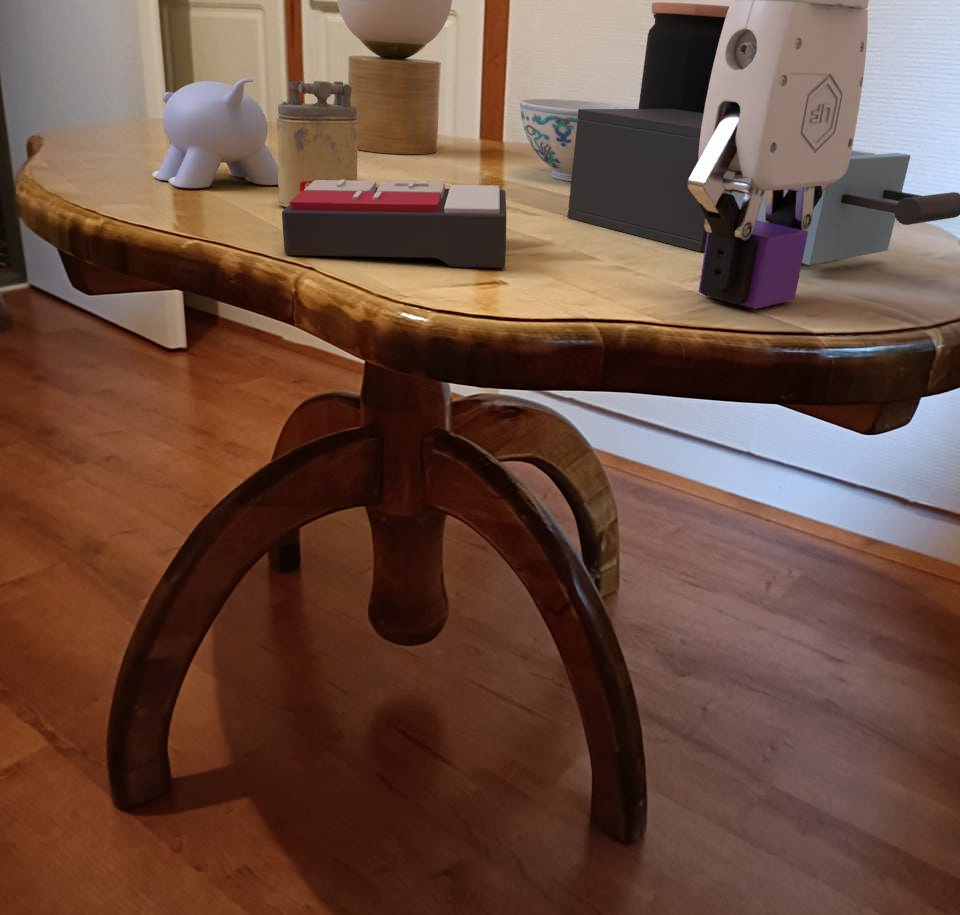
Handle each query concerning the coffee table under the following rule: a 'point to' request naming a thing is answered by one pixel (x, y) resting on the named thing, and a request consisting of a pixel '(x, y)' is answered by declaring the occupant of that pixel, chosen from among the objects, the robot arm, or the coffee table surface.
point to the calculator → (398, 221)
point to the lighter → (315, 138)
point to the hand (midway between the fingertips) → (747, 290)
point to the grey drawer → (865, 208)
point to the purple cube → (773, 264)
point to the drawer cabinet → (638, 174)
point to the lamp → (395, 73)
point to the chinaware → (557, 129)
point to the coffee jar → (680, 55)
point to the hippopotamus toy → (215, 136)
